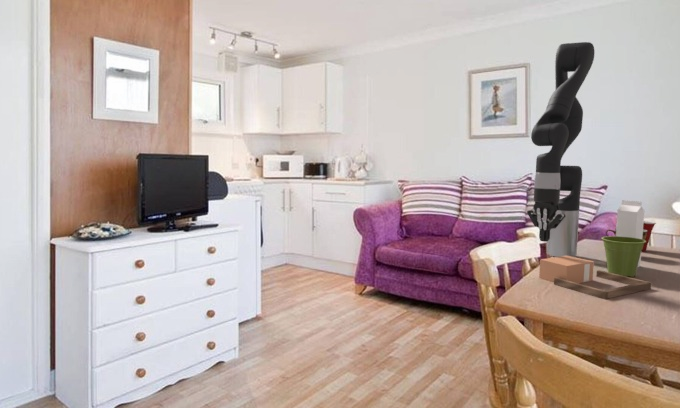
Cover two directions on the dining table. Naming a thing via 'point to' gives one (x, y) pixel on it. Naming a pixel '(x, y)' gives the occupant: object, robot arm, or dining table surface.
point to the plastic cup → (649, 228)
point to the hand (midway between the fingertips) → (544, 241)
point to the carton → (566, 269)
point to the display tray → (633, 286)
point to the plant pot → (623, 254)
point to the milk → (630, 220)
